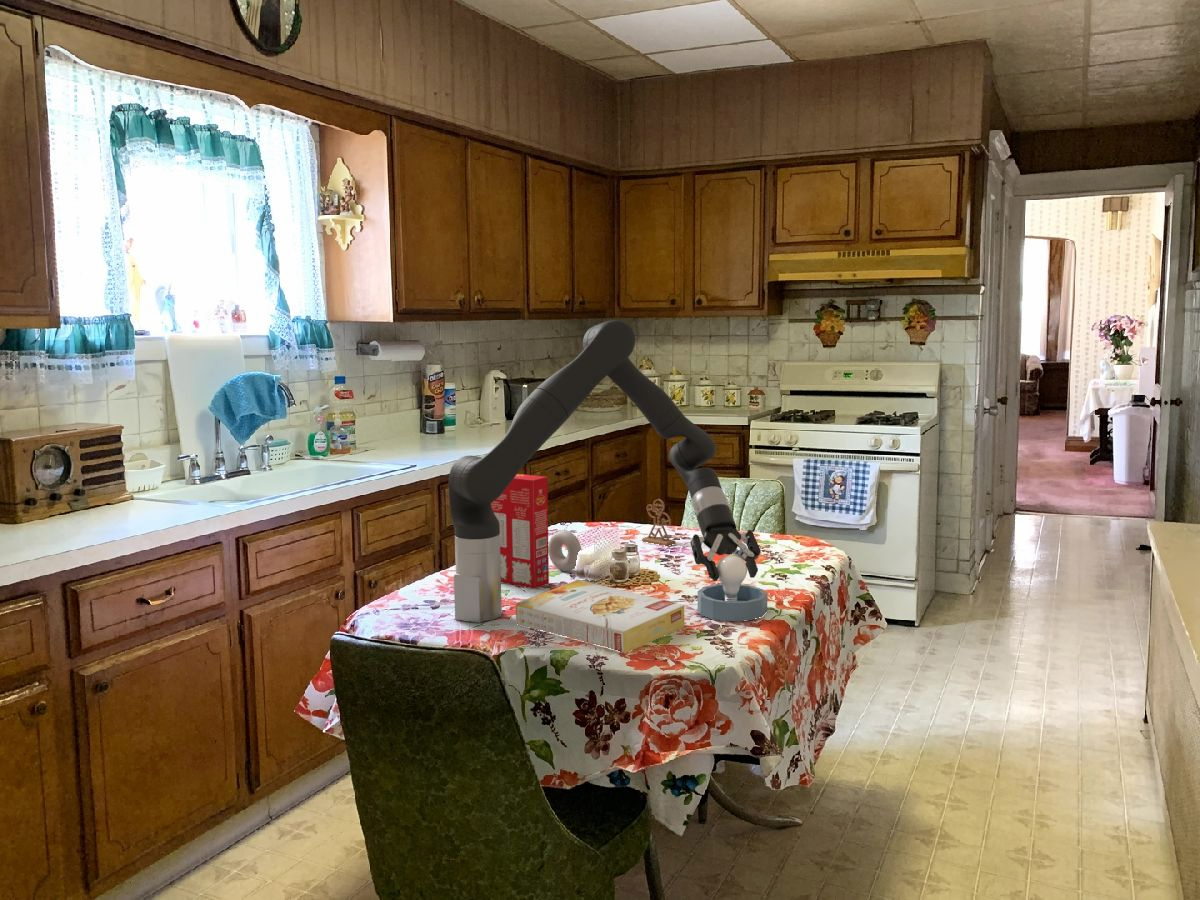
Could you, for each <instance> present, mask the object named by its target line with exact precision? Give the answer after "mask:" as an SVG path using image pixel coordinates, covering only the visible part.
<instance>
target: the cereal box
mask: <svg viewBox="0 0 1200 900" xmlns="http://www.w3.org/2000/svg"><path fill="white" fill-rule="evenodd" d="M515 617H516V618H515V619H516V620H515V621H516V625H517V624H518V625H522V626H525V627H530V628H535V629H540V630H543V631H547V632H551V633H554V634H558V635H562V636H567V637H570V638H573V639H577V640H581V641H584V642H588V643H592V644H596V645H600V646H605V647H608V648H611V649H614V650H618V651H620V652H628V651H630V652H632V651H634V650H633V649H635V648H637V649H639V648H641V647H644V646H645V644H646V645H648V644H650V643H652V641H653V642H655V641H657V640H659V639H661V638H663V636H664V635H666V636H668V635H670V634H672V633H674V632H676V631H675V630H677V631H679V630H681V629H683V628H684V627H685V604H683V603H680V602H679V603H678V602H674V601H669V600H665V599H662V598H657V597H652V596H648V595H644V594H642V593H635V592H632V591H628V590H623V589H619V588H614V587H610V586H606V585H602V584H597V583H593V582H589V581H586V580H585V581H583V580H580V579H577V580H573V581H571V582H569V583H566V584H564V585H560V586H558V587H555V588H553V589H550V590H547V591H545V592H542V593H539V594H537V595H534V596H531V597H529V598H526V599H523V600H521V601H518V602H516V604H515ZM518 625H517V626H518ZM522 626H521V627H522ZM525 627H524V628H525ZM682 627H683V628H682ZM680 628H681V629H680ZM678 629H679V630H678ZM671 632H672V633H671ZM669 633H670V634H669ZM667 634H668V635H667ZM660 637H661V638H660ZM664 637H665V636H664ZM658 638H659V639H658ZM656 639H657V640H656ZM654 640H655V641H654ZM643 645H644V646H643ZM638 647H639V648H638ZM631 650H632V651H631ZM635 650H636V649H635ZM620 652H619V653H620ZM628 653H629V652H628Z"/></svg>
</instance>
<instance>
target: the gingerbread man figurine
mask: <svg viewBox="0 0 1200 900" xmlns="http://www.w3.org/2000/svg"><path fill="white" fill-rule="evenodd" d="M657 501H659V502H660V503H656V502H657ZM664 502H665V501H663V500H662V499H660V498H658V499H655V500H653V503H652V504H650V503H649V504H647V505H646V511H647V514H648V516H649V517H650V518H652V519H653V525H652V528H651V529H650V531H649V534H648V535H647V536H645V537H642V538H641V542H642V541H643V542H642V543H646V542H648V543H647V544H651V543H654V544H653V545H656V544H659V545H658V546H661V545H665V546H664V547H666V546H668V547H670V546H669V545H671V546H673V545H672V544H675V545H676V543H677V542H676V540H674V539H670V537H669V535H668V533H667V531H666V528H665V526H666V527H669V526H671V525H672V519H671V517H670V515H669V514H668V513H667V512H665V511H664V510H665V506H666V505H665V503H664ZM658 507H659V508H658ZM650 511H652V512H653V513H655V516H654V515H653V514H652V513H651V512H650ZM662 515H665V516H666V517H667V519H666V518H661V516H662ZM656 516H657V517H656ZM660 519H661V520H660ZM656 526H657V527H658V528H657V530H656V532H655V533H654V530H655V527H656ZM659 527H661V528H662V530H663V533H664V535H663V534H662V531H661V528H659ZM658 534H659V537H657V535H658Z"/></svg>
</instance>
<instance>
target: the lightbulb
mask: <svg viewBox="0 0 1200 900" xmlns="http://www.w3.org/2000/svg"><path fill="white" fill-rule="evenodd" d="M745 563H746V561H744V560H743V559H742V558H741V557H738V556H736V555H734V554H730V555H728V554H726V555H725V556H723V557H721V559H720V560H719V561H718V562H717V564H716V567H717V570H718V573H719V578H718V580H719V581H720V584H722V585H723V590H724V592H725V601H737V596H738V592H739V588H740V585H741V584H742V583H743V582H744V581H745V578H746V577H747V574H748V573H747V572H748V569H747V567H746V564H745Z"/></svg>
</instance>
